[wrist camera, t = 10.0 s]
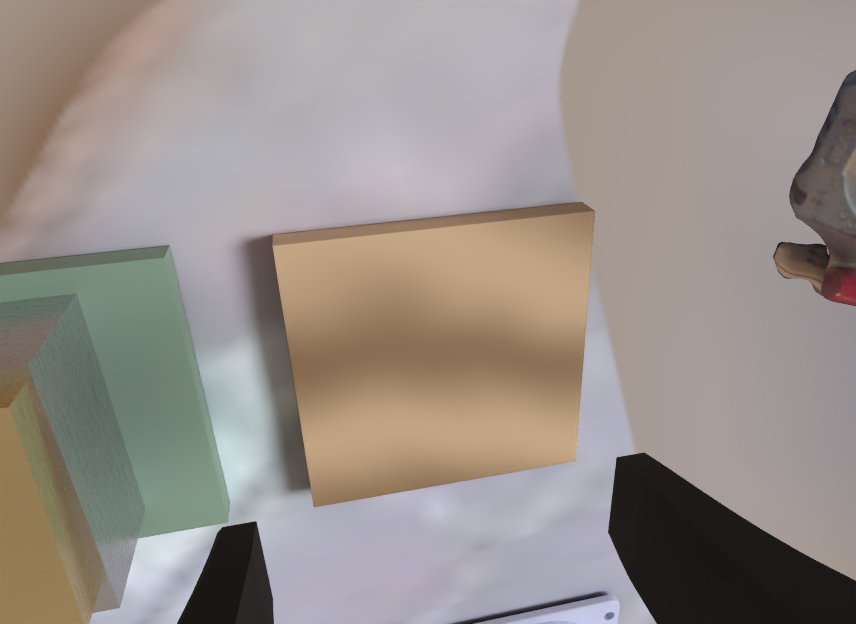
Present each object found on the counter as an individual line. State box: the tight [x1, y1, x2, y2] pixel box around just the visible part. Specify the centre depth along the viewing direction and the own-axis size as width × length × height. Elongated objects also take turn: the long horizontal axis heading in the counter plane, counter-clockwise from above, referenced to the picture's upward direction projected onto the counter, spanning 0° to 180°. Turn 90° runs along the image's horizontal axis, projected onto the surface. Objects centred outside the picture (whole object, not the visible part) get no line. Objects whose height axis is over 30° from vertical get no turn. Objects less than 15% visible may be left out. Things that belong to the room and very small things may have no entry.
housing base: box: [0, 294, 145, 613], centre depth 18 cm, size 5×8×4 cm, turn 3°
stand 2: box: [272, 202, 595, 507], centre depth 22 cm, size 10×10×1 cm
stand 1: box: [0, 246, 230, 538], centre depth 20 cm, size 10×10×1 cm
